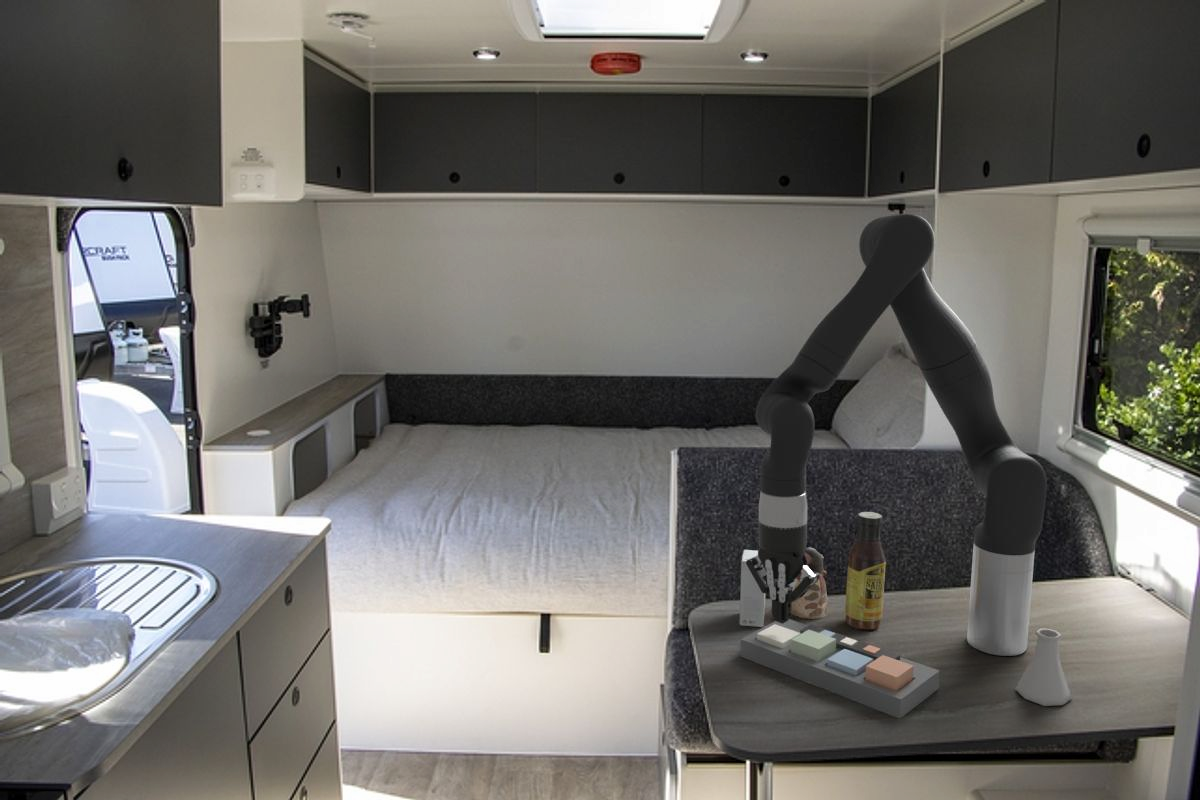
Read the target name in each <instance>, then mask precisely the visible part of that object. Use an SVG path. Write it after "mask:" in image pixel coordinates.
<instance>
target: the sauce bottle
mask: <svg viewBox="0 0 1200 800" xmlns="http://www.w3.org/2000/svg"><path fill="white" fill-rule="evenodd" d="M857 523H858V525H857V527H858V528H857V535H856V537H857V540H856V541H855V542H854V543H853V545H852V546H851V547H850V551H849V557H848V565H847V575H846V577H847V578H846V592H845V594H846V595H845V605H844V606H845V608H844V609H845V610H844V613H845V622H846V624H847V625H848V626H850V627H852V628H855V629H858V630H863V631H864V630H867V631H870V630H875V629H878V628H879V627H880V625H881V622H882V619H883V608H884V607H883V606H884V594H885V593H884V592H885V576H886V568H887V567H886V566H887V565H886V564H887V561H886V558H885V557H886V556H885V553H884V550H883V546H882V543H881V526H882V524H883V516H882V515H881V514H880V513H877V512H873V511H862V512H859V513H858V514H857Z"/></svg>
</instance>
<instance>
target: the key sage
mask: <svg viewBox="0 0 1200 800" xmlns="http://www.w3.org/2000/svg"><path fill="white" fill-rule="evenodd" d="M791 652H792V653H794V654H797V655H800V656H802V657H805V658H808V659H811V660H813V661H816V662H821V661H823V660H824V659H826V658H827V657H829V656H831V655H832V654H834V653H836V639H835V638H832V637H829V636H826V635H823V634H820V633H818V632H815V631H812V630H807V631H805V632H804V633H802V634H800V635H798V636H796V637H795V638H793V639H791Z"/></svg>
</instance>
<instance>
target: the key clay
mask: <svg viewBox="0 0 1200 800" xmlns="http://www.w3.org/2000/svg"><path fill="white" fill-rule="evenodd" d="M913 669H914V666H913V665H910V664H907V663H904V662H902V661H899V660H896V659H893V658H890V657H887V656H884V655H882V656H881V657H879V658H878V659H876V660H874V661H873V662H871V663H870V664H868V665H867V666H866V674H865V680H867V681H870V682H873V683H875V684H878V685H881V686H884V687H886V688H889V689H892V690H894V691H897V692H898V691H899V690H900V689H902V688H903V687H904V686H906V685H907V684H908V683H910V682H911V681H913Z"/></svg>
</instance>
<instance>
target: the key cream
mask: <svg viewBox="0 0 1200 800" xmlns="http://www.w3.org/2000/svg"><path fill="white" fill-rule="evenodd" d="M800 634H801V633H799V632H796V631H793V630H790V629H787V628H784V627H781V626H779V625H776V624H774V625H772V626H770V627H769V628H767V629H765V630H763V631H761V632H759V633H757V640H759V641H762V642H765V643H767V644H770V645H773V646H775V647H778V648H781V649H785V648H787V647H789V646H790V645H791V639H793V638H795V637H796V636H798V635H800Z"/></svg>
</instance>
